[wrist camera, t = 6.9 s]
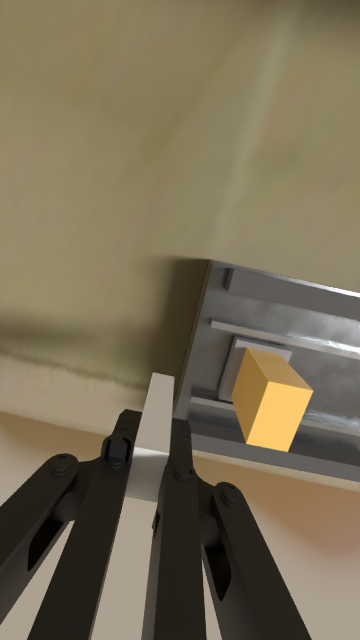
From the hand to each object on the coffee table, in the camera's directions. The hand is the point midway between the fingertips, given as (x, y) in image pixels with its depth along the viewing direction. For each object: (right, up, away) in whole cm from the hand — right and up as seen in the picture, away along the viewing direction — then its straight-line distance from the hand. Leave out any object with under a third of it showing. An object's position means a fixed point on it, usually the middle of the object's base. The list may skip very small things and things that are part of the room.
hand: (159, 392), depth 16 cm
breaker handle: (+8, 0, +6) cm, 10 cm away
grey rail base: (+13, 0, +10) cm, 17 cm away
